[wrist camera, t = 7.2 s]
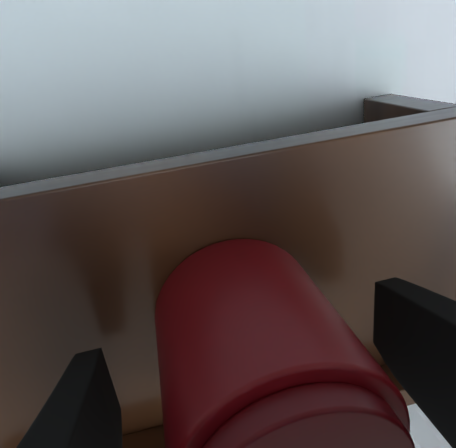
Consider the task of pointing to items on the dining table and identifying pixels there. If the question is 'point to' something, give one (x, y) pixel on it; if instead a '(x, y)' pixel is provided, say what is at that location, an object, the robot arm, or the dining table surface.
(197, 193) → the shelf
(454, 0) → the dining table surface
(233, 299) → the red lidded jar
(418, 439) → the white cup
